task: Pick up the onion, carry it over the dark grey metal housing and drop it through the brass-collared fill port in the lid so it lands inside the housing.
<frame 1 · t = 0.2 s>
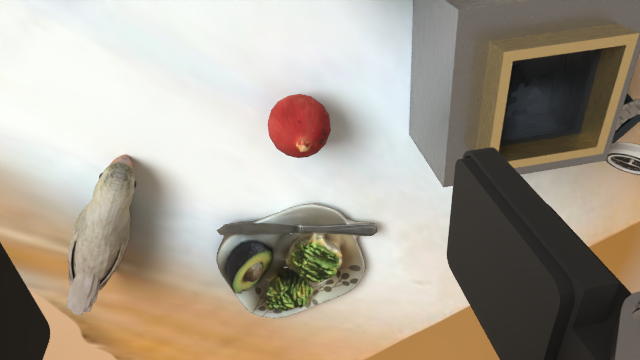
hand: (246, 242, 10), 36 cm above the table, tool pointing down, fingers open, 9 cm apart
onion: (294, 107, 49), on the table
decorative bird: (108, 210, 53), on the table
watch: (597, 104, 55), on the table
housing: (488, 53, 49), on the table
salad plate: (287, 255, 61), on the table
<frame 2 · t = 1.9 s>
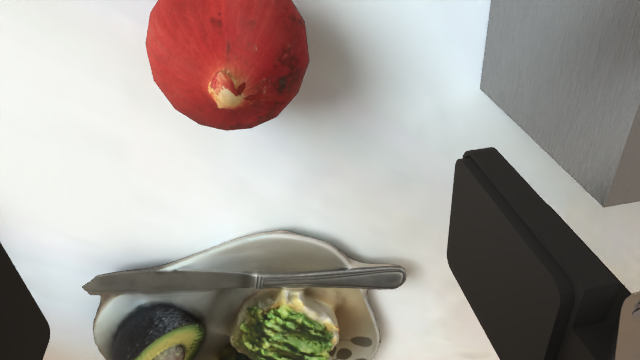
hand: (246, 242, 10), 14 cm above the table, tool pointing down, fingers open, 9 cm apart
onion: (228, 18, 21), on the table
salad plate: (237, 320, 33), on the table
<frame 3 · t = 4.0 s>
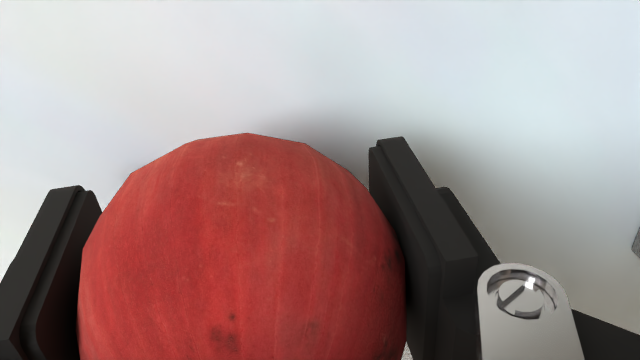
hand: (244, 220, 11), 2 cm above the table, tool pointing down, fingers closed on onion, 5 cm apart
onion: (242, 177, 12), on the table, touching gripper
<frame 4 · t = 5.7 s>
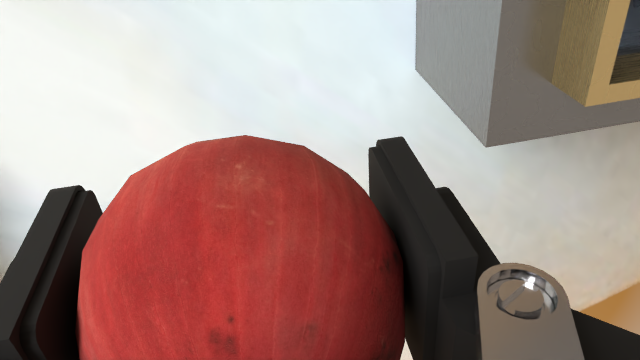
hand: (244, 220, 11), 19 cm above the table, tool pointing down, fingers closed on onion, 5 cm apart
onion: (241, 178, 12), point 18 cm above the table, touching gripper
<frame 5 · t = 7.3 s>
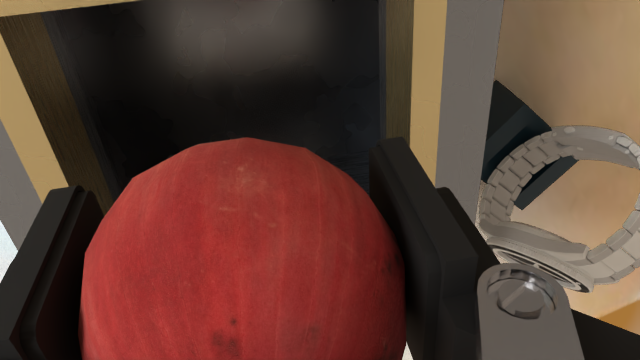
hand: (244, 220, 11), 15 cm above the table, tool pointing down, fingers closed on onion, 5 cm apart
onion: (243, 180, 12), point 13 cm above the table, touching gripper
watch: (494, 133, 29), on the table
housing: (236, 30, 23), on the table
when the fingers open (15 cm above the table, at t = 7.9 s): onion drops 10 cm, resting on housing.
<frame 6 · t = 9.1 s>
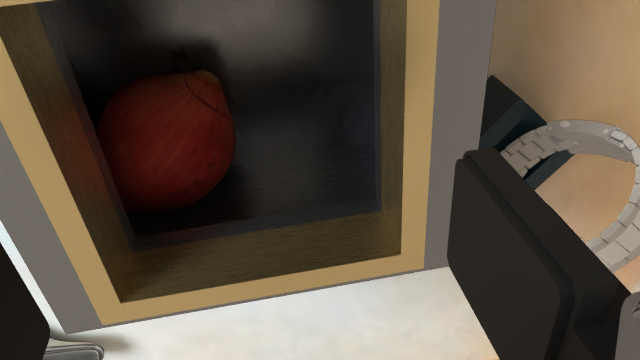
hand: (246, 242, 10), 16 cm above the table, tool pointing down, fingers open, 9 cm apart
onion: (217, 71, 21), point 3 cm above the table, touching housing
watch: (490, 128, 29), on the table
housing: (232, 25, 23), on the table
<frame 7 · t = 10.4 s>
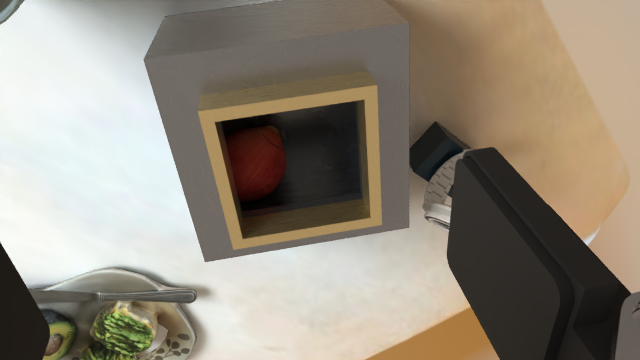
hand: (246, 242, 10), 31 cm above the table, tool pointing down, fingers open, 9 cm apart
onion: (277, 126, 40), point 3 cm above the table, touching housing
watch: (438, 152, 47), on the table
housing: (283, 98, 42), on the table
salad plate: (103, 321, 53), on the table
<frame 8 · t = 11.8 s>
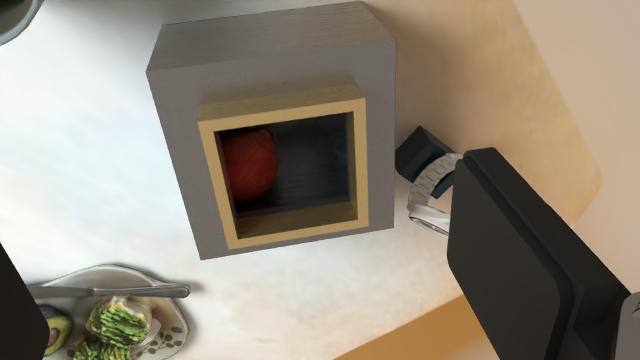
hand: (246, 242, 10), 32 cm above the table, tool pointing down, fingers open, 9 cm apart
onion: (269, 131, 42), point 3 cm above the table, touching housing
watch: (422, 155, 50), on the table
housing: (275, 103, 44), on the table
salad plate: (98, 315, 55), on the table
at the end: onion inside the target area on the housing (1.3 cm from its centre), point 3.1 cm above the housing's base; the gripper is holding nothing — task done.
